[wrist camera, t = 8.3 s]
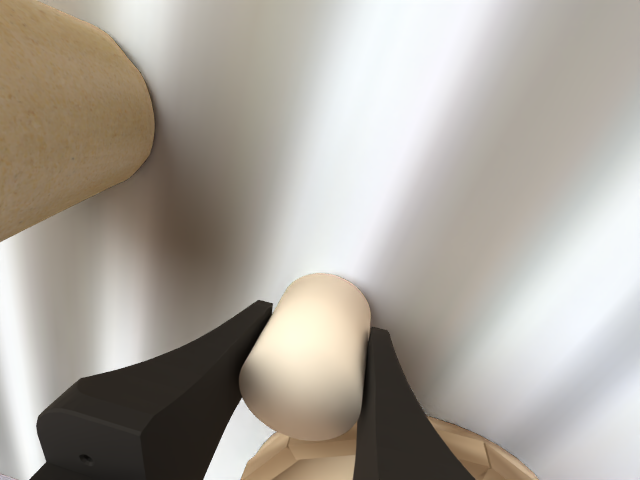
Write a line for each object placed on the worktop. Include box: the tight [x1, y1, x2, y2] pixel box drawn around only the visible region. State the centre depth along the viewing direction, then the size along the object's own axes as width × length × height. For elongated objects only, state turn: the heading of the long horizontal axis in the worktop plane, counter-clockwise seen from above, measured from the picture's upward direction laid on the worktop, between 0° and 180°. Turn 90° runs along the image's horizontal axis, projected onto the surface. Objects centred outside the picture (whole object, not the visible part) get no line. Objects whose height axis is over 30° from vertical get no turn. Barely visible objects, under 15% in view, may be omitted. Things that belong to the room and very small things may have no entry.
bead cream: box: [239, 273, 371, 441], centre depth 13 cm, size 4×4×4 cm
